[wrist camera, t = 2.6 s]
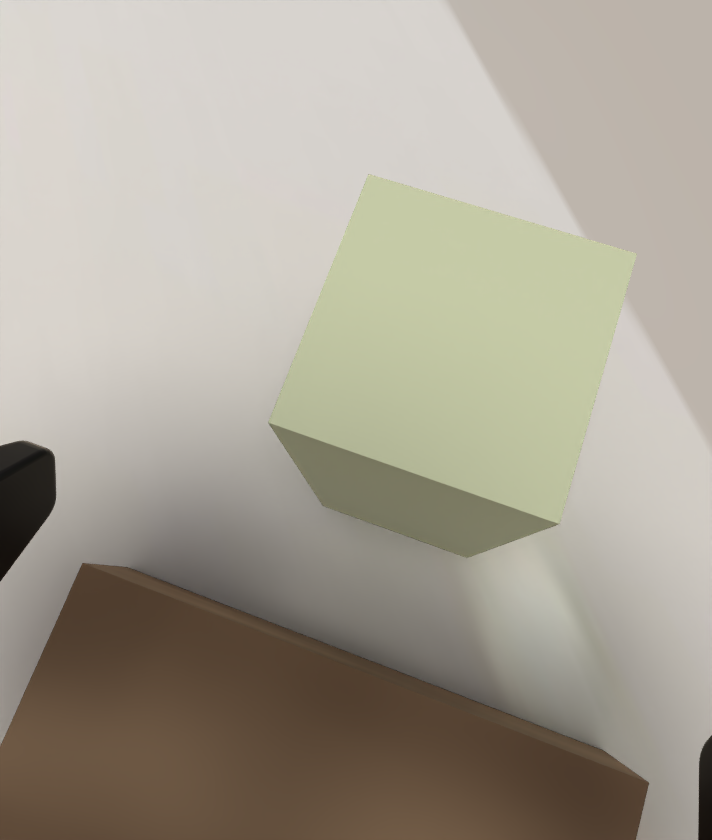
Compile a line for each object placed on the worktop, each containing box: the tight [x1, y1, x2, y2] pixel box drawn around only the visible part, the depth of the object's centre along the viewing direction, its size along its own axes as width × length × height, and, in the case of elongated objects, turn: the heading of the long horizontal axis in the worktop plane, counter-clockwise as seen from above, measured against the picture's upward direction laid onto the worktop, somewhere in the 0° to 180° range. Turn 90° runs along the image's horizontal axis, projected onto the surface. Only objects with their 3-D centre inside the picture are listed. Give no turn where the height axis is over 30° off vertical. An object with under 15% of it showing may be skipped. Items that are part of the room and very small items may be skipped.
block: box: [268, 174, 637, 558], centre depth 15 cm, size 4×4×10 cm
